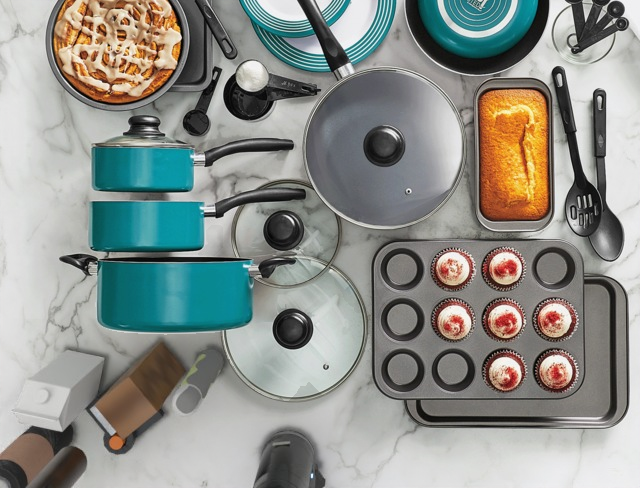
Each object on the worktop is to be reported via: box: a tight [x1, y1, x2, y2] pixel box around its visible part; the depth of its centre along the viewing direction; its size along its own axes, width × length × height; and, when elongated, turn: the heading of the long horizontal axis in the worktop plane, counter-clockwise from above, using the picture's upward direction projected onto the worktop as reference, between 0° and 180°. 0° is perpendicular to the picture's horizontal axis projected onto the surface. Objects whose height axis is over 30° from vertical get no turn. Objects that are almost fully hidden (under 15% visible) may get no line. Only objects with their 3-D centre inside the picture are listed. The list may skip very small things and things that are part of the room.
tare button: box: [109, 433, 126, 450], centre depth 119 cm, size 2×2×2 cm
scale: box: [84, 380, 165, 456], centre depth 121 cm, size 11×11×3 cm
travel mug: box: [0, 423, 74, 488], centre depth 113 cm, size 8×8×20 cm
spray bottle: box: [171, 348, 225, 418], centre depth 112 cm, size 5×5×20 cm
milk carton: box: [10, 349, 106, 432], centre depth 113 cm, size 7×7×19 cm
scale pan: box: [90, 406, 116, 436], centre depth 118 cm, size 6×6×1 cm
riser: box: [94, 341, 187, 440], centre depth 113 cm, size 7×7×18 cm
